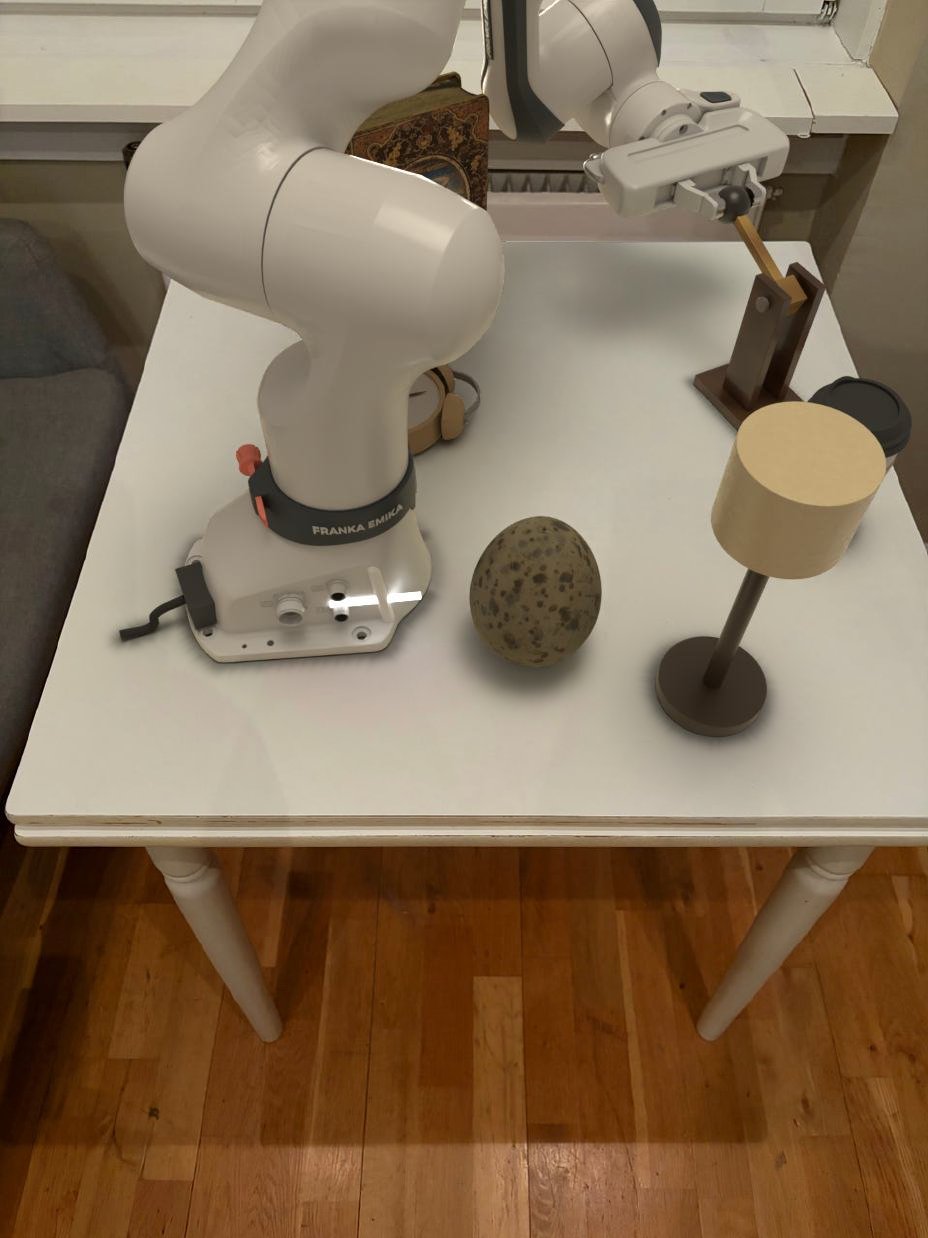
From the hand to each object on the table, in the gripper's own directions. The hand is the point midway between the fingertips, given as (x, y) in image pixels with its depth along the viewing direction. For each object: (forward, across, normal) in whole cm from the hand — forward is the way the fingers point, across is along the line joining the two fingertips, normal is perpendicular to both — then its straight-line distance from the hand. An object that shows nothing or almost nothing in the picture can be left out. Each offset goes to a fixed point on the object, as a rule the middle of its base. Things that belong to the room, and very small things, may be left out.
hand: (739, 206), depth 92 cm
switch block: (+10, 0, +17) cm, 20 cm away
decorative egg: (+26, -37, +17) cm, 48 cm away
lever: (+3, 0, +4) cm, 5 cm away
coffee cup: (+26, -5, +17) cm, 31 cm away
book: (-18, -28, +18) cm, 37 cm away
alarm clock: (-4, -34, +18) cm, 39 cm away
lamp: (+37, -26, +17) cm, 48 cm away
